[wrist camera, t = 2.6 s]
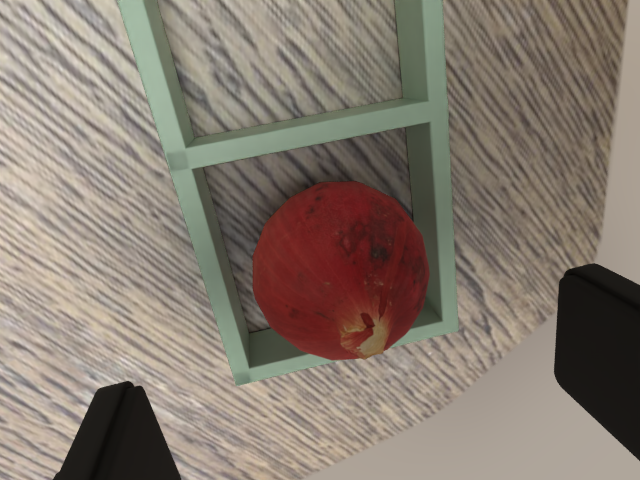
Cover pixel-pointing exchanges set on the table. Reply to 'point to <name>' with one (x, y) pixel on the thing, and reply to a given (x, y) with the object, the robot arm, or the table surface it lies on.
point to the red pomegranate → (340, 271)
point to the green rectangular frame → (195, 153)
